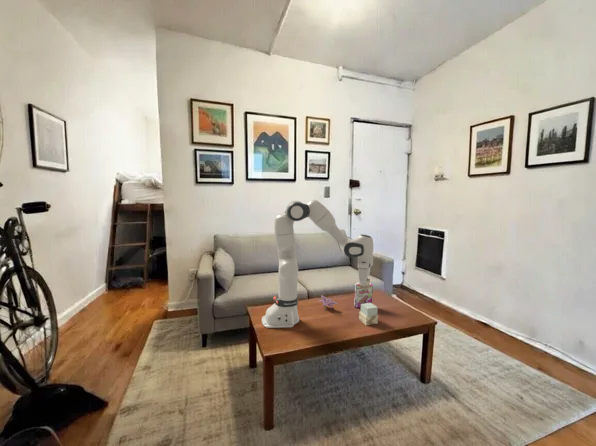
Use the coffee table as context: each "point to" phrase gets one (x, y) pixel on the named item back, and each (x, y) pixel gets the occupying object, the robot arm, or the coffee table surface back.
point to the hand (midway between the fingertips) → (364, 284)
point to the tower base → (368, 319)
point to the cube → (366, 284)
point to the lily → (327, 301)
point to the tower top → (369, 309)
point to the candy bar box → (362, 295)
